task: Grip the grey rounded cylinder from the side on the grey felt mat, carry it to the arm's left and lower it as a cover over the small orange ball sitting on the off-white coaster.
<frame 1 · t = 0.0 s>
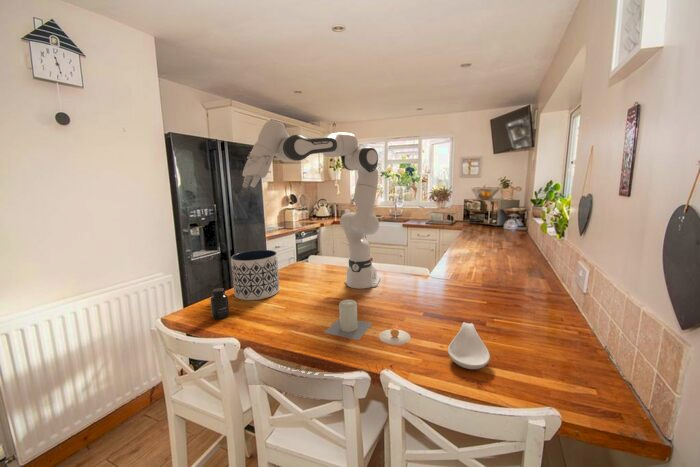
hand: (248, 186, 124), 54 cm above the breakfast bar, tool tilted 30°, fingers open, 8 cm apart
spoon rest: (467, 353, 98), on the breakfast bar
planter: (257, 293, 158), on the breakfast bar
grey rounded cylinder: (348, 327, 115), point 1 cm above the breakfast bar, touching felt mat
supplement bottle: (221, 316, 130), on the breakfast bar
coaster: (394, 338, 108), on the breakfast bar
felt mat: (348, 329, 115), on the breakfast bar
ball: (394, 336, 108), point 1 cm above the breakfast bar, touching coaster
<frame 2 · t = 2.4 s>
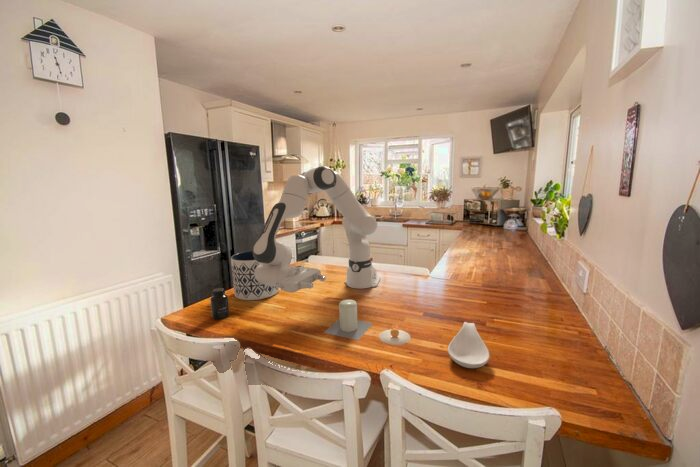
hand: (318, 282, 118), 17 cm above the breakfast bar, tool horizontal, fingers open, 8 cm apart
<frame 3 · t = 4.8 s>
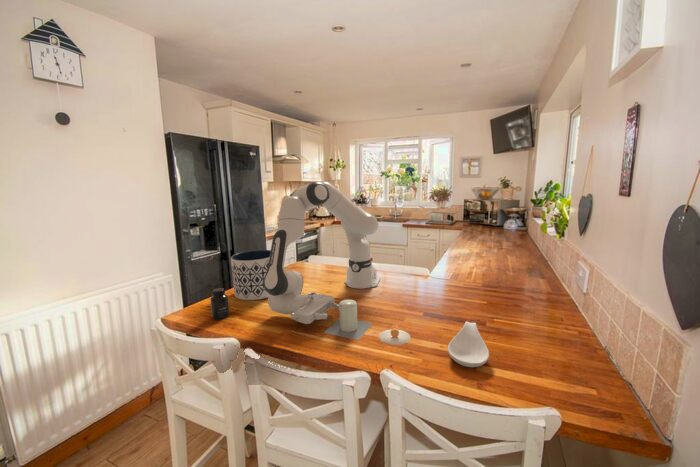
hand: (333, 311, 117), 6 cm above the breakfast bar, tool horizontal, fingers open, 8 cm apart
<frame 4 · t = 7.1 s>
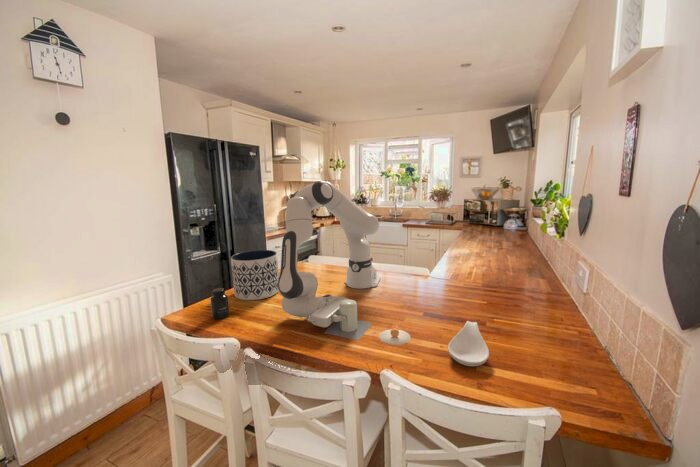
hand: (350, 314, 114), 6 cm above the breakfast bar, tool horizontal, fingers closed on grey rounded cylinder, 6 cm apart
grey rounded cylinder: (348, 327, 115), point 1 cm above the breakfast bar, touching felt mat, gripper
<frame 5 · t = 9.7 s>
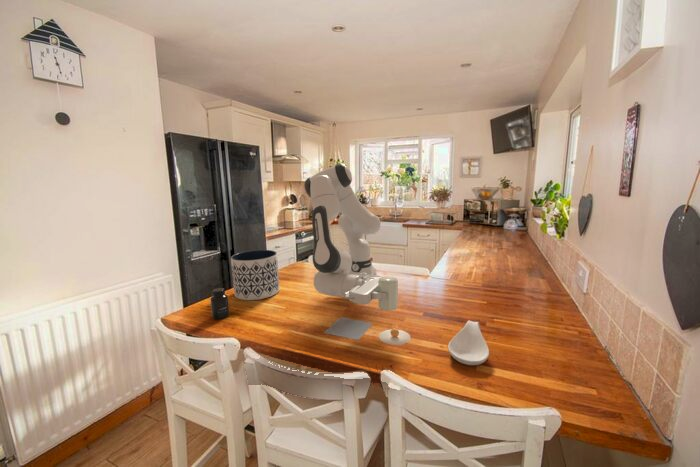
hand: (390, 292, 105), 17 cm above the breakfast bar, tool horizontal, fingers closed on grey rounded cylinder, 6 cm apart
grey rounded cylinder: (388, 306, 106), point 12 cm above the breakfast bar, touching gripper
when the fingers open (7 cm above the breakfast bar, at t = 12.7 s): grey rounded cylinder drops 1 cm, resting on coaster.
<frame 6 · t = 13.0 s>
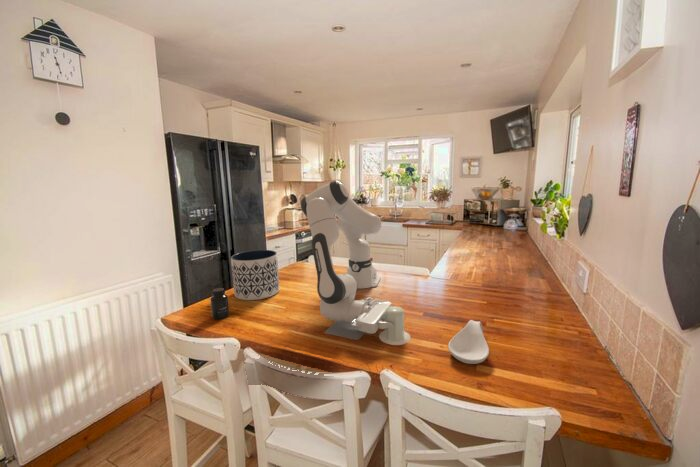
hand: (397, 319, 106), 7 cm above the breakfast bar, tool horizontal, fingers open, 8 cm apart
grey rounded cylinder: (394, 336, 108), point 1 cm above the breakfast bar, touching coaster
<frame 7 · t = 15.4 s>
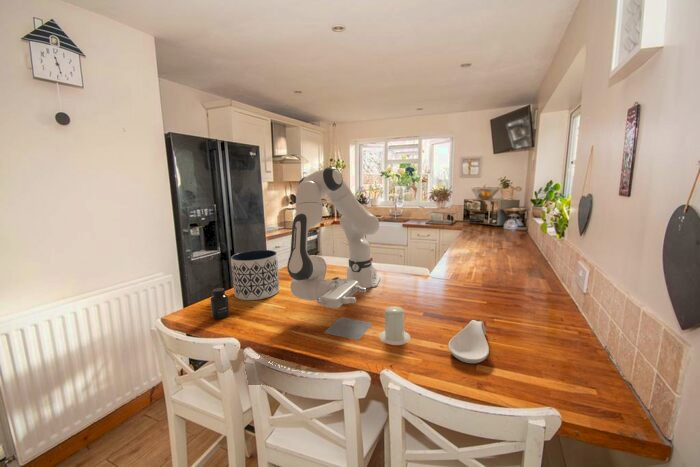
hand: (360, 295, 114), 13 cm above the breakfast bar, tool horizontal, fingers open, 8 cm apart
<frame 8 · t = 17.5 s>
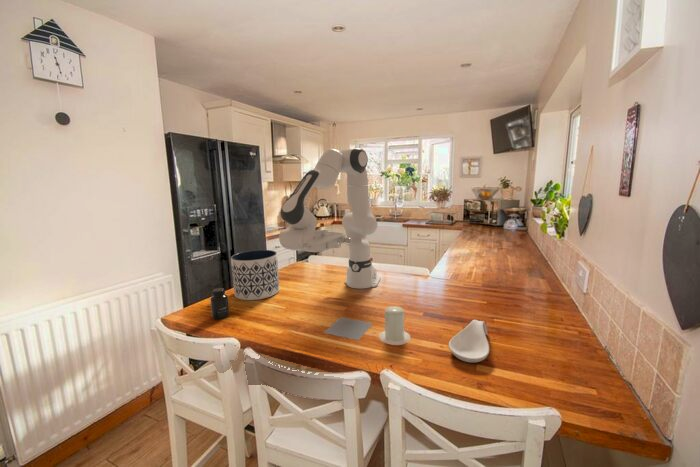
hand: (345, 243, 117), 32 cm above the breakfast bar, tool horizontal, fingers open, 8 cm apart
at the end: grey rounded cylinder 0.0 cm from the ball (horizontally); grey rounded cylinder tilted 0°; grey rounded cylinder point 0.6 cm above the breakfast bar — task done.
